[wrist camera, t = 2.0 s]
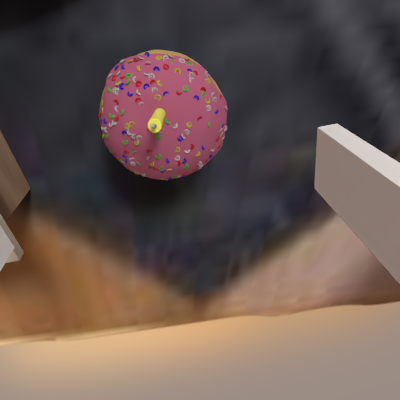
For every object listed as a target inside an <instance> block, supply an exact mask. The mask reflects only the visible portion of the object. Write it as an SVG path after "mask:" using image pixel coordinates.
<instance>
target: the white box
mask: <svg viewBox="0 0 400 400" xmlns="http://www.w3.org/2000/svg"><path fill="white" fill-rule="evenodd" d="M29 190H30V187H29V185H28V183H27V181H26V179H25V177H24V175H23V173H22V171H21V169H20V167H19V166H18V164H17V162H16V160H15V158H14V156H13V154H12V152H11V150H10V148H9V146H8V144H7V142H6V141H5V139H4V137H3V135H2V133H1V131H0V226H1V227H2V229H3V230H4V232H5V233H6V235H7V237H8V238H9V240H10V241H11V243H12V244H13V246H14V249H13V251H12V253H11V254H10V256H9V258H8V259H7V261H6V263H9V262H14V261H19V260H20V259H21V257H22V255H23V254H24V252H23V250H22V249H21V247H20V245H19V244H18V242H17V240H16V239H15V237H14V235H13V234H12V232H11V231H10V229H9V227H8V226H7V224H6V221H7V219H8V218H9V217H10V215H11V214H12V213H13V211H14V210H15V209H16V207H17V206H18V205H19V203H20V202H21V201H22V199H23V198H24V197H25V195H26V194H27V193H28V191H29Z"/></svg>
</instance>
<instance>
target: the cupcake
mask: <svg viewBox="0 0 400 400" xmlns="http://www.w3.org/2000/svg"><path fill="white" fill-rule="evenodd" d="M227 110H228V109H227V103H226V100H225V98H224V97H223V95H222V93H221V91H220V89H219V88H218V86H217V84H216V83H215V81H214V80H213V79H212V77H211V76H210V75H209V74H208V72H207V71H206V70H205V69H204V68H203V67H202V66H201V65H200V64H198V63H197V62H196V61H194V60H193V59H191V58H189V57H188V56H185V55H183V54H181V53H177V52H173V51H165V50H151V51H147V52H143V53H140V54H138V55H136V56H131V57H128V58H125V59H123V60H122V61H120V62H119V63H118V64H117V65H116V66H115V67H114V68H113V69H112V70H111V71H110V73H109V74H108V76H107V79H106V86H105V89H104V91H103V94H102V99H101V104H100V110H99V120H100V125H101V129H102V132H103V136H102V139H103V138H104V143H105V144H106V146H107V148H108V149H109V152H110V153H112V157H114V158H116V159H117V160H119V161H120V162H121V163H122V164H123V165H124V166H125V167H126V168H127V169H129V170H130V171H132V172H134V174H137V175H142V176H145V177H149V178H153V179H154V180H156V179H161V180H165V179H166V180H168V179H169V180H171V179H175V178H179V177H183V178H186V175H189V174H191V173H193V172H195V171H197V170H199V169H200V168H202V167H203V166H204V165H206V164H207V163H208V162H209V161H210V160H211V159H212V158H213V157H214V155H215V154H216V153H217V152H218V151H219V150H220V148H221V146H222V144H223V140H224V138H225V137H224V136H225V131H226V130H227V126H226V119H227ZM113 155H114V156H113ZM184 176H185V177H184Z"/></svg>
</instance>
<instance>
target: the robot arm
mask: <svg viewBox="0 0 400 400" xmlns="http://www.w3.org/2000/svg"><path fill="white" fill-rule="evenodd" d="M314 188H315V189H316V190H317V192H318V193H319V194H320V195H321V196H322V197H323V198H324V199H325V201H326V202H327V203H328V204H329V205H330V206H331V207H332V208H333V210H334V211H335V212H336V213H337V214H338V215H339V216H340V218H341V219H342V220H343V221H344V222H345V223H346V224H347V225H348V227H349V228H350V229H351V230H352V231H353V232H354V233H355V234H356V236H357V237H358V238H359V239H360V240H361V241H362V242H363V243H364V245H365V246H366V247H367V248H368V249H369V250H370V251H371V252H372V254H373V255H374V256H375V257H376V258H377V259H378V260H379V261H380V263H381V264H382V265H383V266H384V267H385V268H386V269H387V270H388V272H389V273H390V274H391V275H392V276H393V277H394V278H395V279H396V281H397V282H398V283H399V284H400V163H399V162H397V161H396V160H394V159H392V158H391V157H389V156H388V155H386V154H384V153H383V152H381V151H380V150H378V149H376V148H375V147H373V146H372V145H370V144H369V143H367V142H365V141H364V140H362V139H361V138H359V137H357V136H356V135H354V134H353V133H351V132H349V131H348V130H346V129H345V128H343V127H341V126H340V125H338V124H332V125H327V126H322V127H318V129H317V149H316V168H315V187H314ZM13 249H14V246H13V244H12V243H11V241H10V240H9V238H8V237H7V235H6V233H5V232H4V230H3V229H2V227H1V226H0V271H1V269H2V268H3V266H4V264H5V263H6V261H7V259H8V258H9V256H10V254H11V253H12V251H13Z"/></svg>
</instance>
